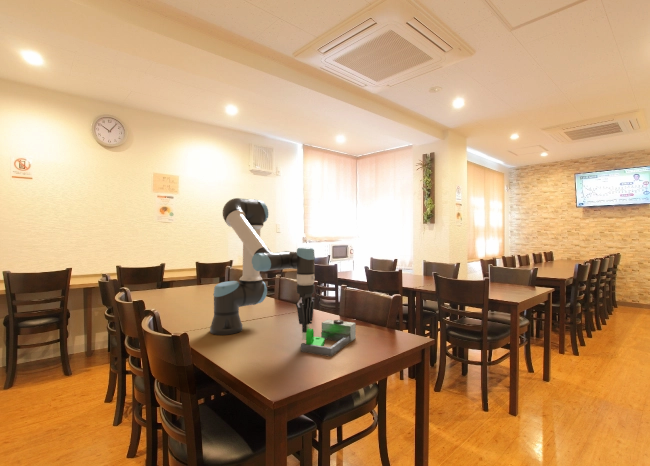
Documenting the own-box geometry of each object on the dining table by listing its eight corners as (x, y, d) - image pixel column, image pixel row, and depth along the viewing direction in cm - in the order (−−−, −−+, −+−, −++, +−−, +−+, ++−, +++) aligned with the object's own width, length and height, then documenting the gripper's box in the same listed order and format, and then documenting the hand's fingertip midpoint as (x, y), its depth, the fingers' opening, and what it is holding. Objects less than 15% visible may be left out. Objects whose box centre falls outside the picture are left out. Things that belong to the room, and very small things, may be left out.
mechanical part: (320, 351, 137) (320, 331, 137) (306, 350, 138) (306, 330, 138) (325, 341, 149) (325, 323, 149) (312, 341, 150) (312, 322, 150)
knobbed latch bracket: (300, 351, 136) (300, 331, 136) (327, 334, 159) (327, 317, 159) (332, 356, 130) (332, 336, 130) (355, 338, 153) (355, 321, 153)
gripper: (305, 286, 137) (306, 345, 137) (320, 282, 149) (320, 336, 149) (290, 285, 141) (290, 342, 141) (305, 281, 152) (305, 334, 152)
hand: (305, 339), depth 145 cm, fingers closed
